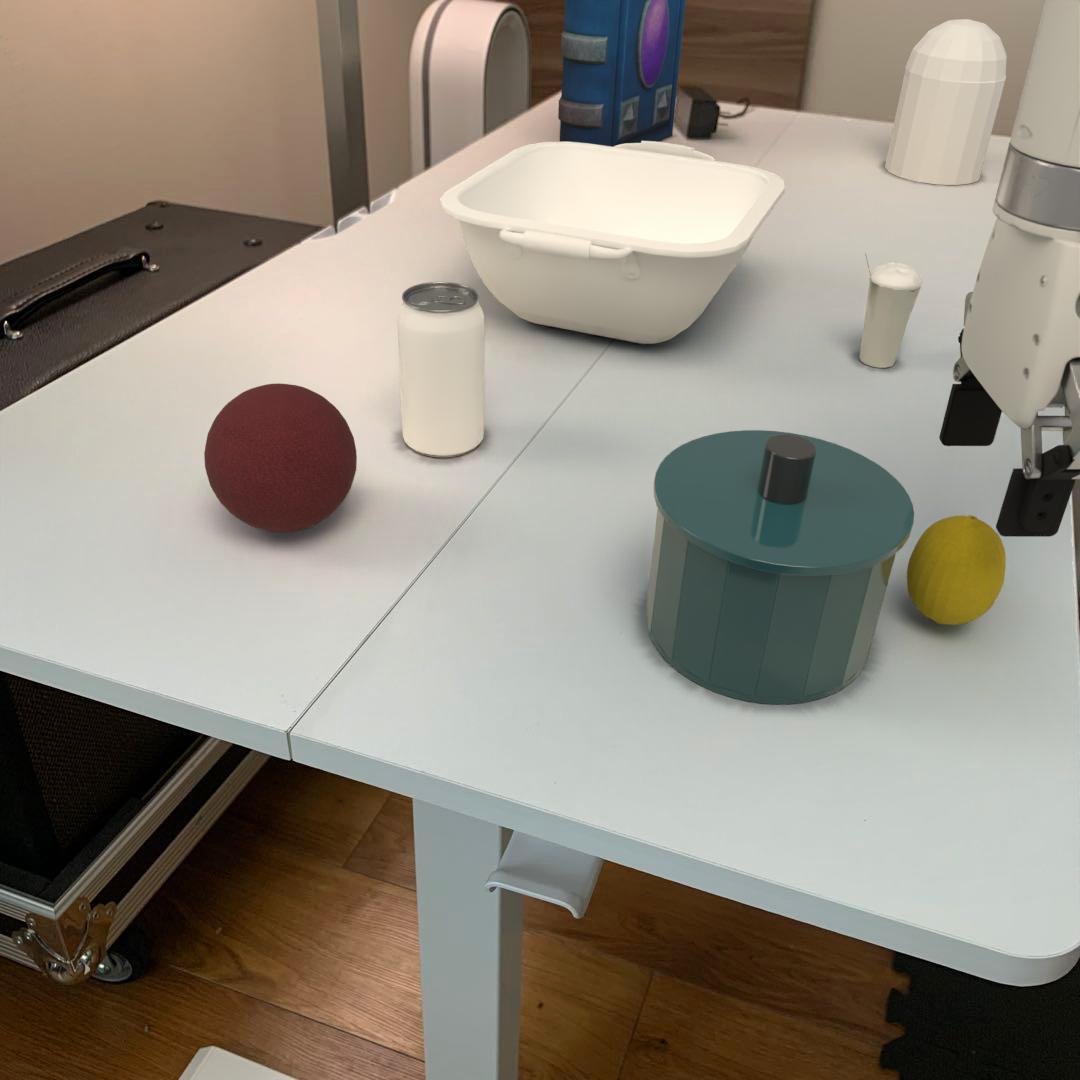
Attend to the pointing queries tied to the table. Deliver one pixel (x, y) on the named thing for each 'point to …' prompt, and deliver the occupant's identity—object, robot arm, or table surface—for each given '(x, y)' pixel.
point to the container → (948, 104)
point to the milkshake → (888, 312)
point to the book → (619, 70)
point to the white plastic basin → (610, 233)
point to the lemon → (956, 570)
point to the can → (441, 368)
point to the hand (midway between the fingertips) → (993, 485)
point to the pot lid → (783, 502)
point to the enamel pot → (759, 623)
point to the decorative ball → (280, 457)
